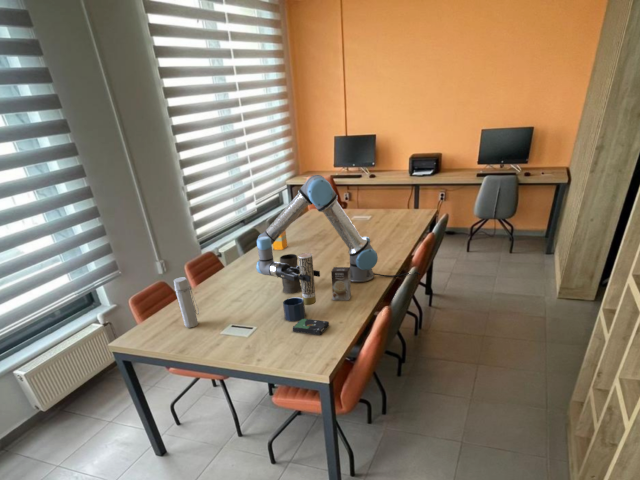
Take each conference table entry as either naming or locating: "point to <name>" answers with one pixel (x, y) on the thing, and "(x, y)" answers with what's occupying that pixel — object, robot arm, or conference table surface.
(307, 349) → the conference table surface
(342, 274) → the coffee box
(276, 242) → the orange juice
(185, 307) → the water bottle
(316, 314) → the conference table surface
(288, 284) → the beer stein
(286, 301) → the pen pot
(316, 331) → the disk drive
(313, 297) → the paper tube
